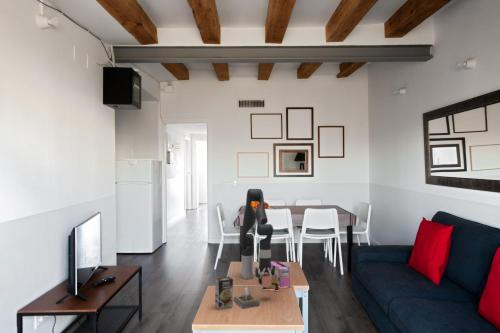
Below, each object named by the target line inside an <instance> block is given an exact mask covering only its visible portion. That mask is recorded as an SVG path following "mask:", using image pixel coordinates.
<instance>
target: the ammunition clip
mask: <svg viewBox="0 0 500 333" xmlns="http://www.w3.org/2000/svg"><path fill="white" fill-rule="evenodd" d="M263 274H266V273H263ZM267 274H268V273H267ZM263 289H275V290H278V289H279V290H280V288H279V287H278V274H276V278H275V274H274V278H273V276H272V286H267V287H262V290H263Z"/></svg>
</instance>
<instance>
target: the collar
mask: <svg viewBox="0 0 500 333" xmlns="http://www.w3.org/2000/svg"><path fill="white" fill-rule="evenodd" d="M261 278H262V284H259V283H258V285H259V286H261V287H262V288H263V287H267V286H272V276H271V275H269V274H267V273H265V274H264V273H263V275H262V277H261Z"/></svg>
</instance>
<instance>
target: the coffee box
mask: <svg viewBox="0 0 500 333" xmlns="http://www.w3.org/2000/svg"><path fill="white" fill-rule="evenodd" d="M214 281H215V288H214V289H215V291H214V292H215V293H214V295H215V296H214V307H215V308H217V309H218V310H223V309H228V308H233V306H234V279H233V278H232V277H230V276H222V277H217V278H215V280H214Z"/></svg>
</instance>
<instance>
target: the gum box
mask: <svg viewBox="0 0 500 333" xmlns="http://www.w3.org/2000/svg"><path fill="white" fill-rule="evenodd" d="M271 265H274V266H275V278H276V274H278V286H280V287H284V286H290V287H291V282H290V281H291V280H290V279H291V272H290V271H291V270H290V269H291V268H290V267H289V266H287V265H285V264H283V263H281V262H279V261H277V260H276V259H275V260H273V261H271ZM271 269H272V268H270V272H271ZM273 278H274V275H273Z"/></svg>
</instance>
